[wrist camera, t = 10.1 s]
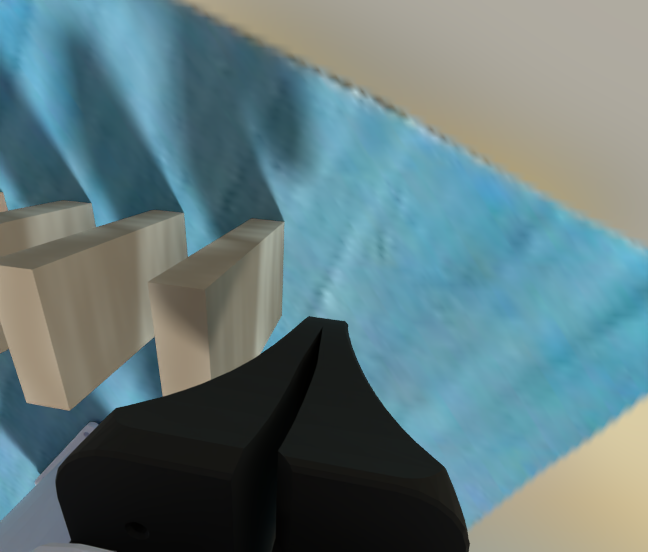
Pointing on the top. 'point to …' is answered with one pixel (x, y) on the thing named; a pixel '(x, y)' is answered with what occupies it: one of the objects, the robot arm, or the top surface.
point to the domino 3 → (218, 305)
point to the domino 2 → (84, 303)
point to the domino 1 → (41, 229)
